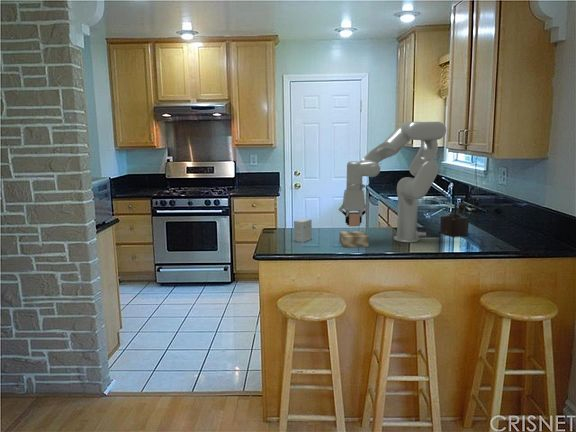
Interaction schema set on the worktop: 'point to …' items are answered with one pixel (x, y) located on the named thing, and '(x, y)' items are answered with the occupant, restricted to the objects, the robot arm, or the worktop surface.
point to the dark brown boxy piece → (455, 223)
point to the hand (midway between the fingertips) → (353, 224)
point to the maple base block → (354, 239)
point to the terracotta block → (354, 219)
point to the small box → (302, 230)
